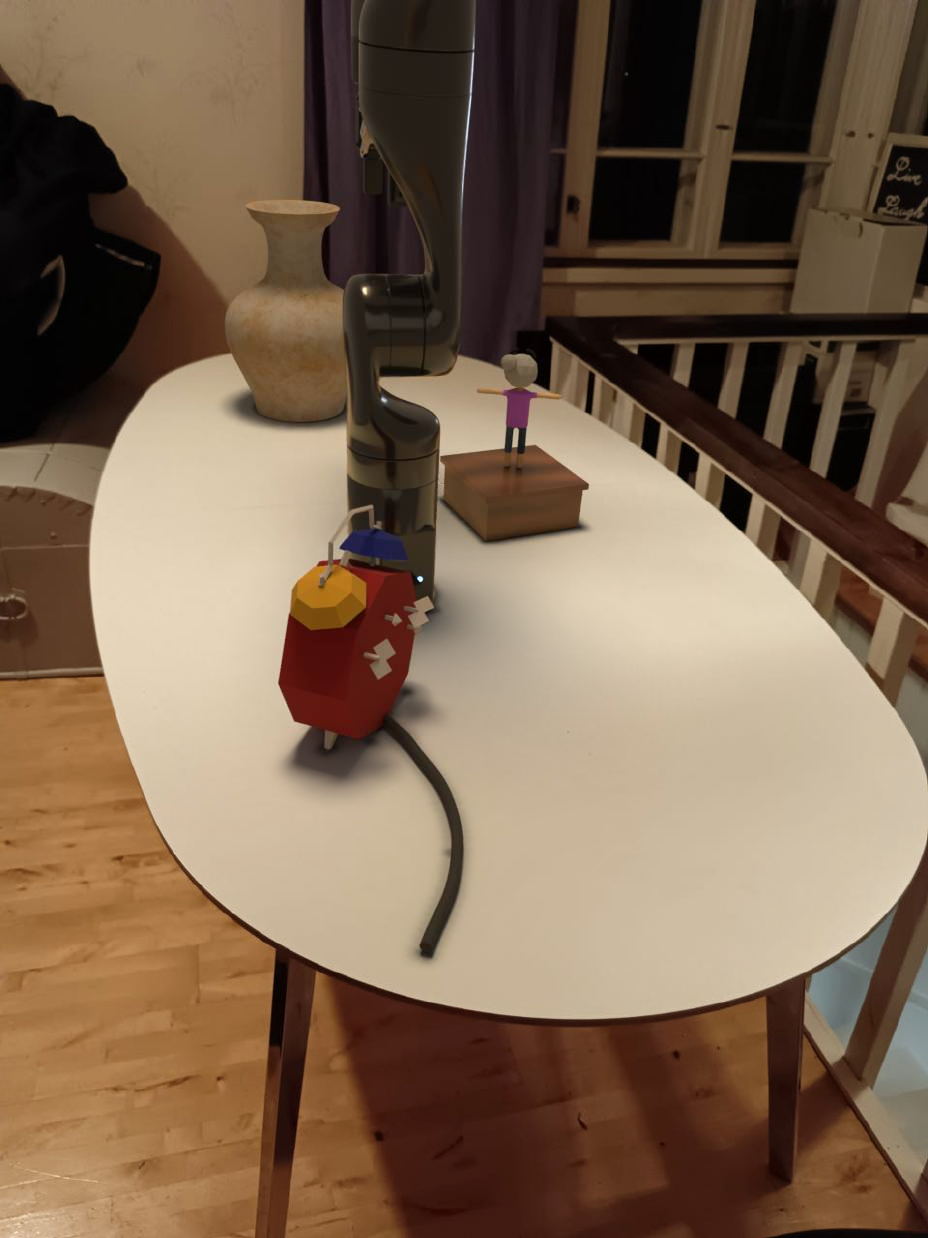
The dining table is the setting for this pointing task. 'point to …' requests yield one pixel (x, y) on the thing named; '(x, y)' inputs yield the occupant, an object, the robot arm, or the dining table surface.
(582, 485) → the wooden stand
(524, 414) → the toy
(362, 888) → the dining table surface
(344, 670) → the alarm clock
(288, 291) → the vase
